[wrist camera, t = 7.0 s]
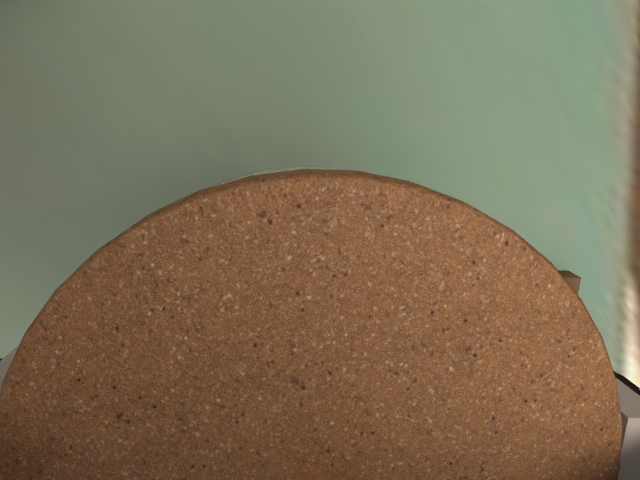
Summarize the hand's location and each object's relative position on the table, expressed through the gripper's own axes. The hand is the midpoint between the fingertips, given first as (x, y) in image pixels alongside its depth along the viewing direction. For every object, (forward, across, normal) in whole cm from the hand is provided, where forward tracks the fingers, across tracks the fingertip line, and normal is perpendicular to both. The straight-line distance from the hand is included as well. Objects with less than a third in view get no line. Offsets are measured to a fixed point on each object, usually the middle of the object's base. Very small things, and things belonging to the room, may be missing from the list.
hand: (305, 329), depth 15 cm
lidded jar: (+1, 0, 0) cm, 1 cm away
